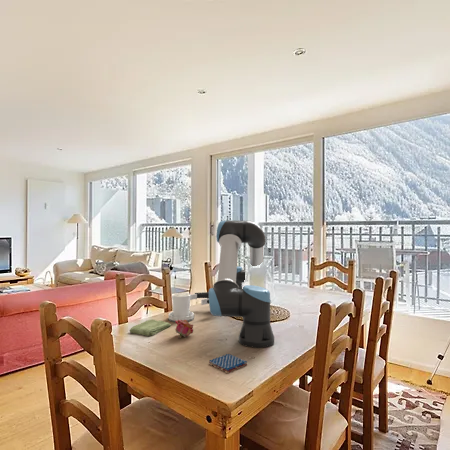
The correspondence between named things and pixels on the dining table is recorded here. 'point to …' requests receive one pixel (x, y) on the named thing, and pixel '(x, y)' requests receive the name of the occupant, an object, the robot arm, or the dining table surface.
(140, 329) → the washcloth
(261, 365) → the dining table surface
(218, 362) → the woven mat
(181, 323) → the flower
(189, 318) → the grey round dish
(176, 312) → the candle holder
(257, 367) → the dining table surface
